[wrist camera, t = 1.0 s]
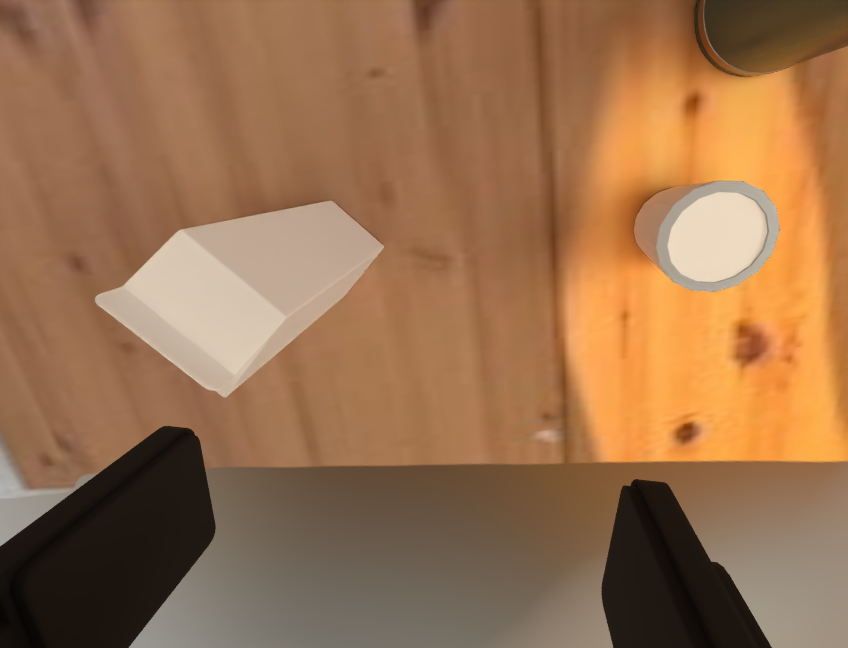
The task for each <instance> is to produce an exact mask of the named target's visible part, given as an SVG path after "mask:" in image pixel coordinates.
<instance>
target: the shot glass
mask: <svg viewBox="0 0 848 648" xmlns="http://www.w3.org/2000/svg"><path fill="white" fill-rule="evenodd" d="M779 231H780V228H779V221H778V214H777V208H776V207H775V205H774V204H773V203H772V201H771V200H770V199H769V197H768V196H767V195H766V193H765V192H764V191H763V190H761V189H758V188H756V187H754V186H752V185H750V184H748V183H746V182H744V181H714V182H707V183H699V184H692V185H685V186H678V187H672V188H669V189H666V190H664V191H661V192H658V193H656V194H655V195H654V196H653V197H651V198H650V199H649V200H648V201H646V202H645V203H644V205H643V206H642V208H641V209H640V211H639V213H638V214H637V216H636V220H635V225H634V235H635V239H636V243H637V245H638V246H639V248H640V249H641V250H642V251H643V252H644V254H645V255H646V256H647V257H648V258H649V259H650V260H651V261H652V262H653V263H654V264H655V265H656V266H657V267H658V268H659V269H661V270H662V271H663V272H664V273H665V274H666V275H667V276H668V277H669V278H670V279H671V280H672V281H673V282H674V283H677V284H679V285H681V286H683V287H685V288H687V289H689V290H692V291H708V292H715V291H719V290H722V289H726V288H729V287H733V286H736V285H738V284H740V283H741V282H743V281H744V280H746V279H747V278H749V277H750V276H752V275H753V274H755V273H756V272H758V271H759V269H760V268H761V267H762V266H763V264H764V263H765V262H766V260H767V259H768V258H769V257H770V255H771V254H772V253H773V251H774V247H775V244H776V241H777V237H778V234H779Z"/></svg>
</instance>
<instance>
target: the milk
mask: <svg viewBox="0 0 848 648" xmlns="http://www.w3.org/2000/svg"><path fill="white" fill-rule="evenodd" d="M383 248H384V246H383V245H382V244H381V243H380V242H379V241H378V240H377V239H375V238H374V237H373V236H372V235H371V234H370V233H369V232H367V231H366V230H365V229H364V228H363V227H362V226H361V225H359V224H358V223H357V222H356V221H355V220H354V219H353V218H351V217H350V216H349V215H348V214H347V213H346V212H345V211H343V210H342V209H341V208H340V207H339V206H338V205H337V204H335V203H334V202H333V201H332V200H330V201H325V202H320V203H315V204H310V205H305V206H299V207H294V208H289V209H284V210H279V211H274V212H269V213H263V214H258V215H253V216H248V217H243V218H238V219H232V220H227V221H222V222H217V223H212V224H207V225H202V226H196V227H191V228H186V229H181V230H179V231H177V232H176V233H175V234H174V235H173V236H172V237H171V238H170V239H169V240H168V241H167V242H166V243H165V244H164V245H163V246H162V247H161V248H160V249H159V250H158V251H157V252H156V253H155V254H154V255H153V256H152V257H151V258H150V259H149V260H148V261H147V262H146V263H145V264H144V265H143V266H142V267H141V268H140V269H139V270H138V271H137V272H136V273H135V274H134V275H133V276H132V277H131V278H130V279H129V280H128V281H127V282H126V283H125V284H124V285H123V286H121V287H119V288H116V289H113V290H110V291H107V292H104V293H101V294H98V295H97V296H96V298H95V302H96V304H97V305H99V306H100V307H101V308H103V309H104V310H105V311H106V312H108V313H109V314H110V315H112V316H113V317H114V318H115V319H117V320H118V321H119V322H121V323H122V324H123V325H124V326H126V327H127V328H128V329H130V330H131V331H132V332H133V333H135V334H136V335H137V336H139V337H140V338H141V339H142V340H144V341H145V342H146V343H148V344H149V345H150V346H151V347H153V348H154V349H155V350H157V351H158V352H159V353H160V354H162V355H163V356H164V357H166V358H167V359H168V360H169V361H171V362H172V363H173V364H175V365H176V366H177V367H179V368H180V369H181V370H182V371H184V372H185V373H186V374H188V375H189V376H190V377H191V378H193V379H194V380H195V381H197V382H198V383H199V384H200V385H202V386H203V387H204V388H206V389H208V390H215V391H216V392H217V393H219V394H220V395H221V396H223V397H224V398H226V397H227V396H228V395H229V394H230V393H232V392H233V391H234V390H235V389H236V388H237V387H239V386H240V385H241V384H242V383H243V382H244V381H246V380H247V379H248V378H249V377H250V376H251V375H253V374H254V373H255V372H256V371H257V370H258V369H260V368H261V367H262V366H263V365H264V364H265V363H267V362H268V361H269V360H270V359H271V358H272V357H274V356H275V355H276V354H277V353H278V352H279V351H281V350H282V349H283V348H284V347H285V346H287V345H288V344H289V343H290V342H291V341H292V340H294V339H295V338H296V337H297V336H298V335H299V334H301V333H302V332H303V331H304V330H305V329H306V328H308V327H309V326H310V325H311V324H312V323H313V322H315V321H316V320H317V319H318V318H319V317H320V316H322V315H323V314H324V313H325V312H326V311H327V310H329V309H330V308H331V307H332V306H333V305H334V304H336V303H337V302H338V301H339V300H340V299H341V298H343V297H344V296H345V295H346V294H347V293H348V291H349V290H350V289H351V288H352V287H353V285H354V284H355V283H356V282H357V280H358V279H359V278H360V277H361V275H362V274H363V273H364V272H365V271H366V269H367V268H368V267H369V266H370V264H371V263H372V262H373V261H374V260H375V258H376V257H377V256H378V255H379V253H380V252H381V251H382V250H383Z"/></svg>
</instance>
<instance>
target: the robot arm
mask: <svg viewBox="0 0 848 648" xmlns="http://www.w3.org/2000/svg"><path fill="white" fill-rule="evenodd" d="M214 534H215V520H214V515H213V510H212V504H211V499H210V493H209V488H208V483H207V477H206V472H205V467H204V461H203V456H202V450H201V445H200V441H199V438H198V437H197V436H195V434H194V432H193V431H192V430H191V429H189V428H181V427H173V426H163V427H161V428H160V429H158V430H157V431H155V432H154V433H153V434H151V435H150V436H149V437H147V438H146V439H145V440H143V441H142V442H141V443H139V444H138V445H136V446H135V447H134V448H132V449H131V450H130V451H128V452H127V453H126V454H124V455H123V456H122V457H120V458H119V459H118V460H116V461H115V462H114V463H112V464H111V465H110V466H108V467H107V468H105V469H104V470H103V471H101V472H100V473H99V474H97V475H96V476H95V477H93V478H92V479H91V480H89V481H88V482H87V483H85V484H84V485H83V486H81V487H80V488H79V489H77V490H76V491H74V492H73V493H72V494H70V495H69V496H68V497H67V498H65V499H64V500H62V501H61V502H60V503H58V504H57V505H56V506H54V507H53V508H52V509H50V510H49V511H48V512H46V513H45V514H44V515H42V516H41V517H40V518H38V519H37V520H35V521H34V522H33V523H31V524H30V525H29V526H27V527H26V528H25V529H23V530H22V531H21V532H19V533H18V534H17V535H15V536H14V537H13V538H11V539H10V540H9V541H7V542H6V543H5V544H3V545H2V546H0V648H129V646H130V645H131V644H132V642H133V641H134V640H135V639H136V637H137V636H138V635H139V633H140V632H141V631H142V630H143V628H144V627H145V626H146V625H147V623H148V622H149V621H150V620H151V618H152V617H153V615H154V614H155V613H156V612H157V610H158V609H159V608H160V607H161V605H162V604H163V603H164V602H165V600H166V599H167V598H168V596H169V595H170V594H171V593H172V591H173V590H174V589H175V588H176V586H177V585H178V584H179V583H180V581H181V580H182V578H183V577H184V576H185V575H186V574H187V572H188V571H189V570H190V569H191V567H192V566H193V565H194V563H195V562H196V561H197V560H198V558H199V557H200V556H201V555H202V553H203V552H204V551H205V549H206V548H207V547H208V546H209V544H210V543H211V541H212V539H213V537H214ZM602 602H603V607H604V611H605V615H606V619H607V623H608V627H609V631H610V635H611V639H612V643H613V648H772V647H771V646H770V644H769V642H768V640H767V639H766V637H765V635H764V634H763V632H762V630H761V629H760V627H759V625H758V623H757V622H756V620H755V618H754V616H753V615H752V613H751V611H750V610H749V608H748V606H747V604H746V603H745V601H744V599H743V598H742V596H741V594H740V592H739V591H738V589H737V587H736V586H735V584H734V582H733V580H732V579H731V577H730V575H729V574H728V573H727V571H726V570H725V568H724V567H723V566H721V565H720V564H718V563H717V562H711V561H710V559H709V557H708V555H707V553H706V552H705V550H704V548H703V546H702V545H701V543H700V541H699V539H698V537H697V535H696V534H695V532H694V530H693V528H692V526H691V525H690V523H689V521H688V519H687V518H686V516H685V514H684V512H683V510H682V509H681V507H680V505H679V503H678V501H677V499H676V498H675V496H674V494H673V492H672V490H671V489H670V487H669V486H668V484H666V483H664V482H656V481H646V480H638V479H636V480H633V482H632V483H631V486H623V487H622V490H621V494H620V499H619V504H618V508H617V513H616V518H615V523H614V528H613V533H612V538H611V542H610V548H609V552H608V558H607V562H606V567H605V572H604V577H603V582H602Z"/></svg>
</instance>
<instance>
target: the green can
mask: <svg viewBox="0 0 848 648" xmlns="http://www.w3.org/2000/svg"><path fill="white" fill-rule="evenodd" d="M695 30H696V36H697V40H698V43H699V45H700V48H701V50H702V52H703V53H704V55H705V56H706V58H707V59H708V60H709V61H710V62H711V63H712V64H713V65H714V66H716V67H717V68H719V69H720V70H722V71H724V72H726V73H729V74H732V75H737V76H747V77H750V76H760V75H765V74H769V73H774V72H776V71H779V70H782V69H785V68H788V67H790V66H793V65H795V64H797V63H800V62H803V61H806V60H809V59H811V58H814V57H817V56H820V55H823V54H826V53H829V52H832V51H834V50H837V49H840V48H843V47H846V46H848V0H697V4H696V11H695Z"/></svg>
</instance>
